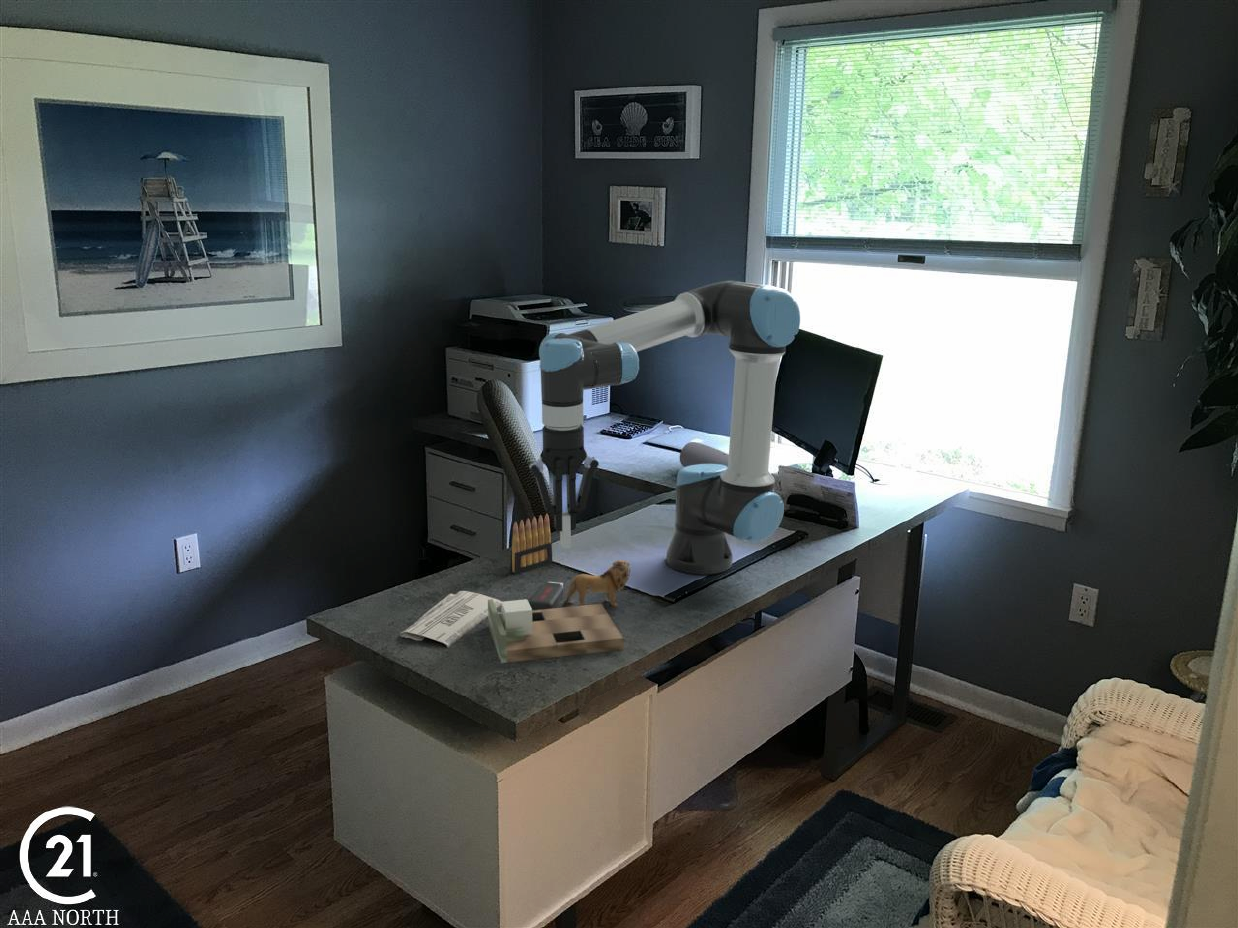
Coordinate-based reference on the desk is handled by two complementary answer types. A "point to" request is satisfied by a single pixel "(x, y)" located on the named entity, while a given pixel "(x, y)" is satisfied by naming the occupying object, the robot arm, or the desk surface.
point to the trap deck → (556, 633)
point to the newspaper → (451, 618)
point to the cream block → (517, 615)
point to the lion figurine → (600, 583)
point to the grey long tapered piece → (702, 455)
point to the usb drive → (547, 596)
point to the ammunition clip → (531, 546)
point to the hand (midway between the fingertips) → (565, 545)
